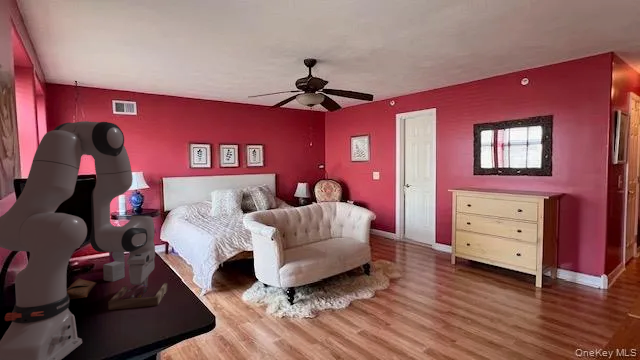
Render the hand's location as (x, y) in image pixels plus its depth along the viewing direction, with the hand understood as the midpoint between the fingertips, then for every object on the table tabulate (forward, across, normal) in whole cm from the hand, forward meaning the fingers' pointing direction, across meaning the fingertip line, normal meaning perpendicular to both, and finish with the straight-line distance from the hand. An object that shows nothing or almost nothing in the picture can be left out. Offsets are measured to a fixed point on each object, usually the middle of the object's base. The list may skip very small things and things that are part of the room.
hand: (143, 287), depth 134 cm
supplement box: (+3, -41, -24) cm, 48 cm away
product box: (+3, -23, -19) cm, 30 cm away
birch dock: (+2, +6, 0) cm, 6 cm away
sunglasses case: (+3, -10, -27) cm, 29 cm away
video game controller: (+3, +6, -2) cm, 7 cm away
